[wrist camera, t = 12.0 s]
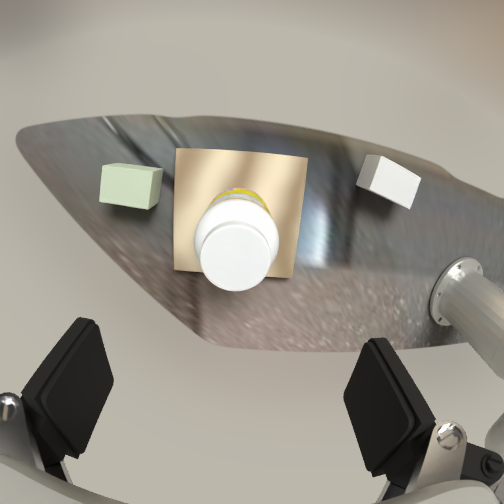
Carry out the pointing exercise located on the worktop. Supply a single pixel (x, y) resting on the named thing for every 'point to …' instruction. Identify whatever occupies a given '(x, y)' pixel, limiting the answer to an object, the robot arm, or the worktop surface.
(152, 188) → the green block
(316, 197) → the worktop surface
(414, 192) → the white block
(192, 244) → the birch board
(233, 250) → the supplement bottle
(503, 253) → the worktop surface
